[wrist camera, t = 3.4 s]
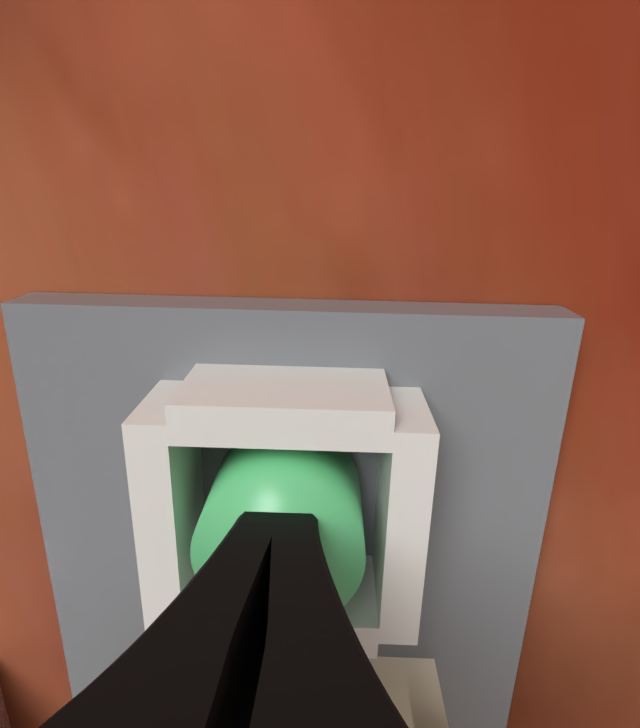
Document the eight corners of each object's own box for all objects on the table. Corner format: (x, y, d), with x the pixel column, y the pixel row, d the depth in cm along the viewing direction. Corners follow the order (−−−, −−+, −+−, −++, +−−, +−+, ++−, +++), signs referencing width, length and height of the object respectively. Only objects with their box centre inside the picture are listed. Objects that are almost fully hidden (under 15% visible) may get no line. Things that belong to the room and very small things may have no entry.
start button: (220, 543, 12) (195, 625, 10) (214, 420, 11) (184, 480, 9) (356, 548, 12) (361, 631, 10) (363, 424, 11) (370, 485, 9)
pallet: (116, 813, 18) (68, 950, 15) (32, 291, 12) (-79, 331, 9) (468, 828, 18) (499, 971, 14) (561, 305, 12) (645, 351, 9)
